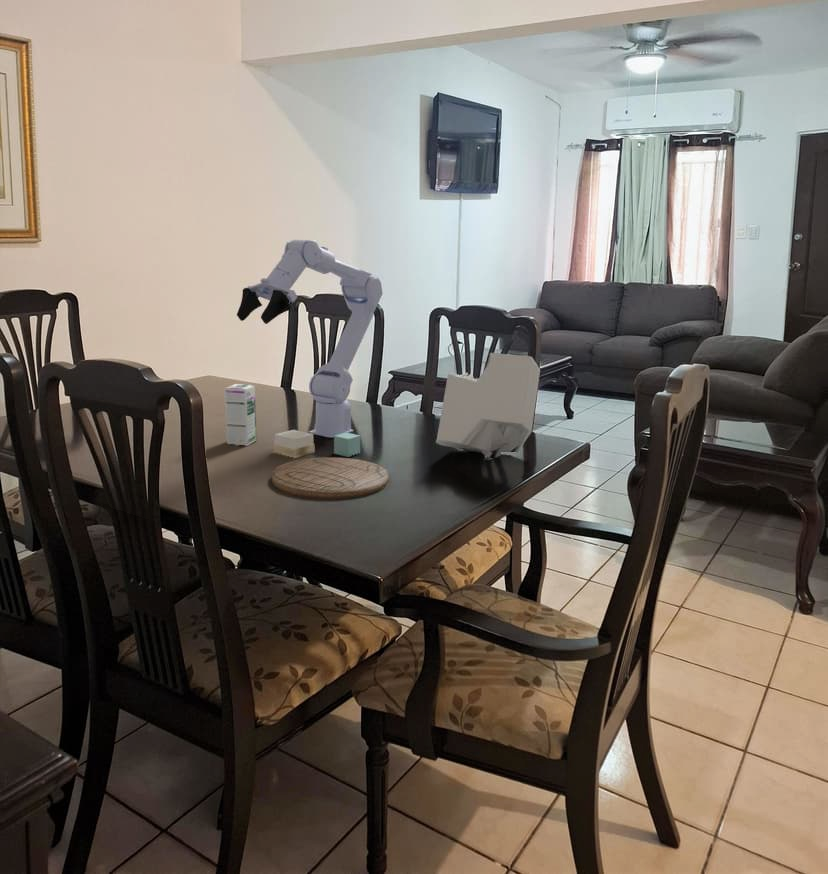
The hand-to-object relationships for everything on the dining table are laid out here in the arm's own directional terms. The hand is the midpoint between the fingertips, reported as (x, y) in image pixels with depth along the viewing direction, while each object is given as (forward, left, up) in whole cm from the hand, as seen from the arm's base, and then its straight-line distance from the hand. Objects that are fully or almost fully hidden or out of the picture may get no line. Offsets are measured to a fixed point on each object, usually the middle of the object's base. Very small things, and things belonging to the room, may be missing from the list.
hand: (251, 319), depth 178 cm
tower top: (-8, +6, -30) cm, 32 cm away
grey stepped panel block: (-36, +43, -32) cm, 64 cm away
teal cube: (-16, +16, -32) cm, 39 cm away
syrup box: (-6, -10, -32) cm, 34 cm away
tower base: (-8, +6, -33) cm, 34 cm away
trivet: (+3, +27, -33) cm, 42 cm away
